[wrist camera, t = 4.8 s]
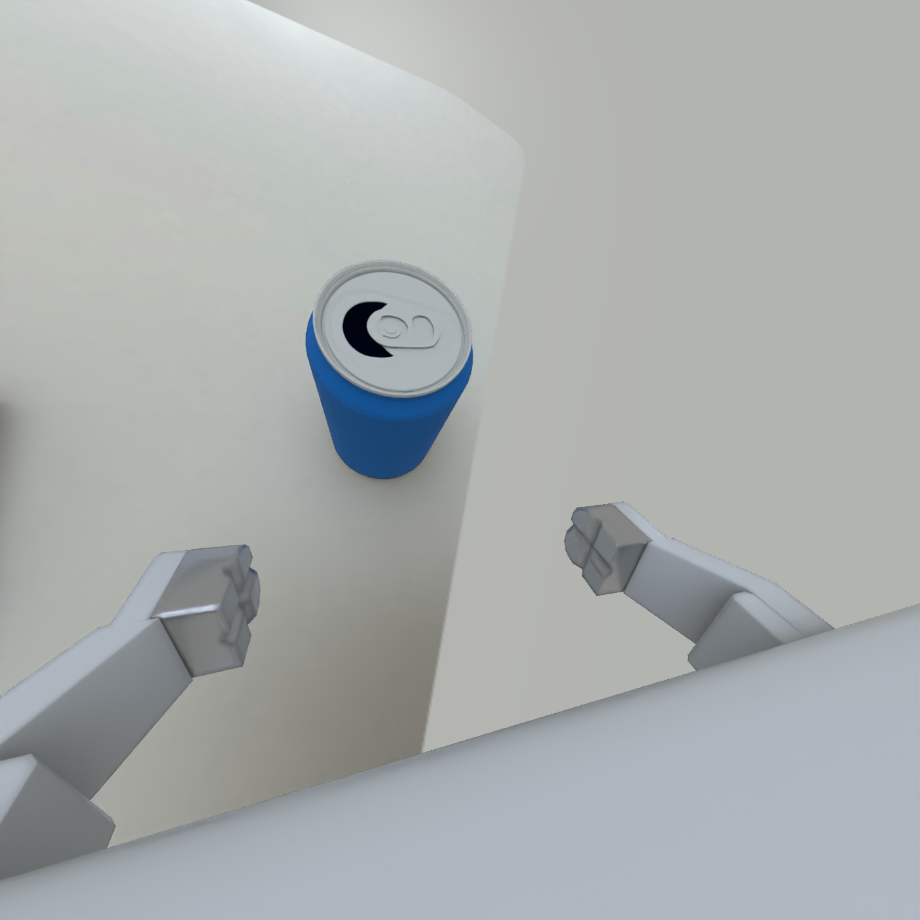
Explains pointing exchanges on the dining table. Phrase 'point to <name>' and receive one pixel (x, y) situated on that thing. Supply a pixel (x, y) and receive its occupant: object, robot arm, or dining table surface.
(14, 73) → the dining table surface
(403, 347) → the beverage can
